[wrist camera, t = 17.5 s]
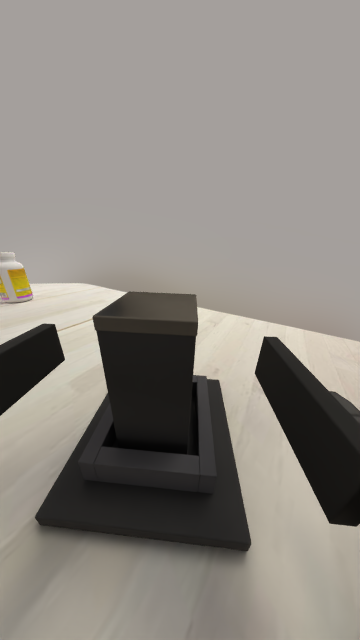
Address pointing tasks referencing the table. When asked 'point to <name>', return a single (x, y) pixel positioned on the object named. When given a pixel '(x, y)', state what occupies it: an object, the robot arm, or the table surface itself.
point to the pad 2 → (155, 482)
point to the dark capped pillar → (149, 368)
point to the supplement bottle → (13, 280)
